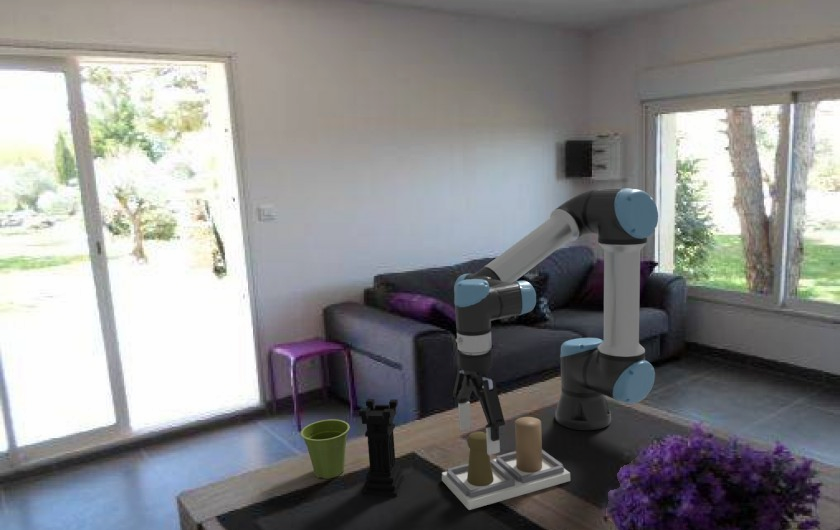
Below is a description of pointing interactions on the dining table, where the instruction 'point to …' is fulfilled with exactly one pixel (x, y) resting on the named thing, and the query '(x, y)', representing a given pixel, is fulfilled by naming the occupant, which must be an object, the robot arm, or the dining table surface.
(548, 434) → the dining table surface
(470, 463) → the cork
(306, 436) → the plant pot
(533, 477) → the pin board
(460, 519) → the dining table surface
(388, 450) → the chess piece
